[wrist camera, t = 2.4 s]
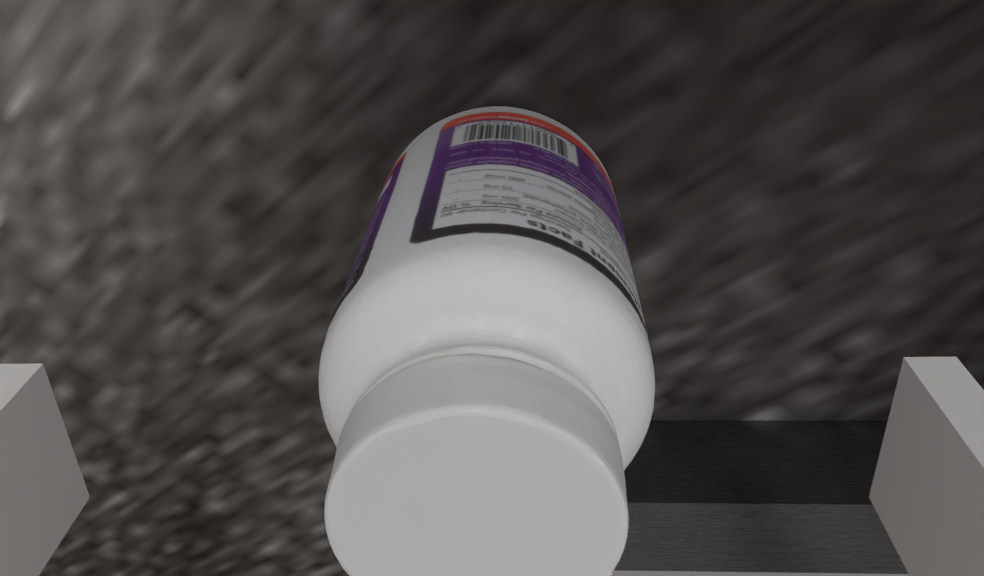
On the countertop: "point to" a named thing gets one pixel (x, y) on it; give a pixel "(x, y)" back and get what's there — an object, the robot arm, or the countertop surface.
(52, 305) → the countertop surface
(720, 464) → the grey clamp fixture
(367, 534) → the pill bottle
